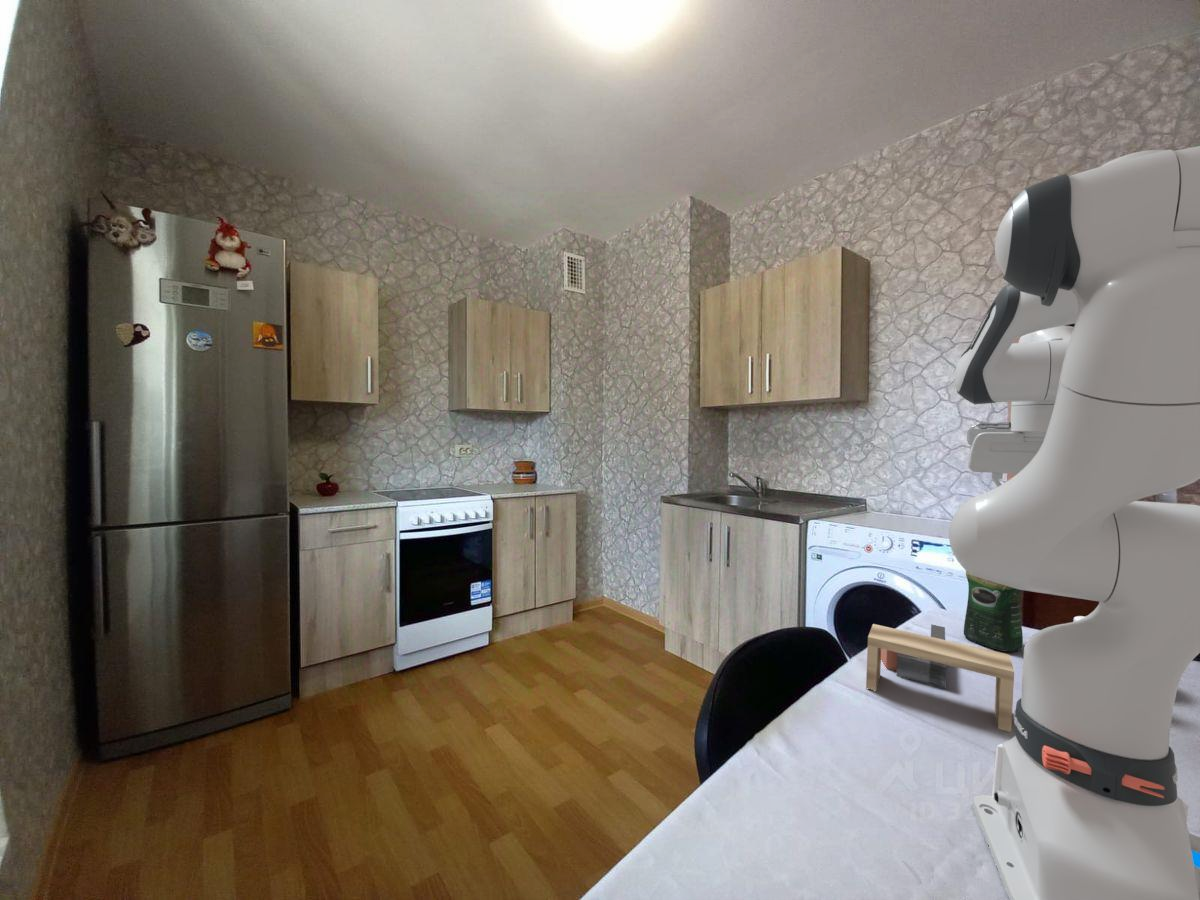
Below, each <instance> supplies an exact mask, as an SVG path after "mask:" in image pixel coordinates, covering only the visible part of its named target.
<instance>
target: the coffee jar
mask: <svg viewBox="0 0 1200 900" xmlns="http://www.w3.org/2000/svg"><path fill="white" fill-rule="evenodd" d="M965 577H966V579H967V582H968V594H967V595H968V597H967V605H966V612H965V618H964V622H963V636H964V637H965V638H966V639H968V640H969V641H972V642H974V643H976V642H977V644H979V645H983V646H984V645H985V647H987V648H991V649H994V650H998V651H999V652H1000V651H1002V652H1013V653H1015V652H1017V651H1019V650H1022V648H1024V645H1023V643H1024V642H1023V640H1024V639H1023V638H1024V637H1023V627H1022V626H1023V625H1022V616H1021V615H1022V613H1021V596H1022V595H1021V594H1022V591H1023V590H1019V589H1016V588H1012V587H1009V586H1005V585H1002V584H998V583H995V582H992V581H989V580H985V579H982V578H979V577H976V576H973V575H971V574H969V573H968V572H967V571H966V570H965Z"/></svg>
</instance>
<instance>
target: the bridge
mask: <svg viewBox="0 0 1200 900" xmlns="http://www.w3.org/2000/svg"><path fill="white" fill-rule="evenodd" d="M881 648H882V649H886V650H890V651H894V652H898V653H902V654H906V655H910V656H914V657H918V658H922V659H926V660H930V661H934V662H937V663H941V664H945V665H946V666H950V667H953V668H954V667H955V668H957V669H962V670H966V671H970V672H974V673H978V674H981V675H986V676H990V677H994V678H995V688H994V689H995V690H994V691H995V692H994V711H995V718H996V722H997V723H996V724H997V728H998V729H999V730H1002V731H1005V732H1008V733H1012V722H1013V704H1014V703H1013V701H1014V684H1015V670H1014V667H1013V662H1012V658H1011V656H1010V654H1008V653H1004V652H1000V651H995V650H991V649H986V648H982V647H978V646H977V647H976V646H972V645H969V644H965V643H960V642H955V641H951V640H947V639H945V640H943V639H938V638H934V637H931V636H928V635H924V634H920V633H915V632H911V631H906V630H903V629H897V628H894V627H889V626H884V625H880V624H876V623H873V624H872V625H871V628H870V630H869V633H868V636H867V650H866V651H867V653H866V654H867V655H866V656H867V657H866V679H865V682H866V683H865V689H866V688H868V689H872V690H875V691H877V689H878V686H879V685H878V684H879V682H878V681H880V678H881V666H882V661H881ZM879 677H880V678H879ZM876 688H877V689H876ZM868 689H867V690H868ZM875 691H874V692H875Z"/></svg>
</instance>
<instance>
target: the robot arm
mask: <svg viewBox="0 0 1200 900" xmlns="http://www.w3.org/2000/svg"><path fill="white" fill-rule="evenodd" d="M994 255H995V260H996V263H997V265H998V267H999V270H1000V271H1001V272H1002V279H1003V280H1004V281H1005V282H1007V284H1005V285H1004V286H1003V287H1002V288H1001V289H1000V291H999V292H998V294H997V295H996V296H995V298H994V300H993V301H992V303H991V305H990V307H989V308H988V310H987V311H986V314H985V316H984V317H983V319H982V321H981V323H980V325H979V327H978V329H977V331H976V333H975V335H974V336H973V338H972V340H971V342H970V344H969V346H968V347H967V348H966V350H965V351H964V352H963V353H962V354H961V356H960V359H959V360H958V362H957V364H956V367H955V370H954V385H955V390H956V393H957V394H958V395H959V396H961V397H962V399H964V400H966V401H968V402H969V403H971V404H973V405H985V404H986V405H987V404H996V403H1010V418H1009V422H1004V421H1003V422H985V421H984V422H983V421H982V422H978V423H977V424H975V425H971V427H969V429H968V430H967V436H966V437H967V439H966V440H967V443H968V444H969V446H970V451H969V456H968V463H967V467H968V469H969V470H971V471H972V472H974V473H989V474H990V473H991V479H992V481H993V482H994V483H995V485H996V487H995V488H993V489H991V490H989V491H985V492H983V493H980V494H978V495H975V496H972V497H970V498H968V500H966V501H965V502H964V503H963V504H961V505H960V507H958V509H957V510H956V511H955V513H954V514H953V516H952V518H951V521H950V524H949V529H948V540H949V544H950V549H951V550H952V553H953V555H954V557H955V559H956V560H957V562H958V563H959V565H960V566H961V567H962V568H963V569H964V570H965V572H966V571H967V572H968V573H969V574H971V575H973V576H976V577H979V578H982V579H985V580H989V581H992V582H995V583H998V584H1002V585H1005V586H1009V587H1012V588H1016V589H1019V590H1022V591H1025V592H1033V593H1041V594H1047V595H1051V596H1052V595H1053V596H1060V597H1061V596H1062V597H1065V598H1066V597H1067V598H1073V599H1079V600H1081V599H1082V600H1086V601H1093V602H1094V601H1095V602H1098V605H1097V606H1096V607H1095V608H1094V610H1093V611H1091V612H1090V613H1089V614H1088V615H1085V617H1084V618H1082V619H1080V620H1078V621H1075V622H1073V621H1071V622H1066V623H1060V624H1055V625H1051V626H1047V627H1045V628H1042V629H1040V630H1039V631H1037V632H1035V633H1034V634H1033V635H1032V636H1030V637H1029V638H1028V640H1027V641H1026V642H1025V645H1024V646H1023V657H1022V658H1023V663H1022V676H1021V677H1022V678H1021V679H1022V680H1021V681H1022V682H1021V697H1020V698H1019V699H1018V700H1017V701H1016V704H1015V705H1016V706H1015V709H1014V712H1013V723H1014V727H1013V728H1014V729H1013V731H1014V736H1013V737H1012V738H1010V739H1009V740H1007V741H1004V742H1001V743H999V744H997V746H996V750H995V762H994V769H993V770H994V771H993V782H992V789H991V790H992V791H991V792H992V793H991V795H986V794H985V795H982V794H980V795H975V796H973V798H972V803H971V807H972V806H973V807H972V810H973V809H974V810H973V813H974V815H975V814H976V815H975V818H976V817H977V818H976V820H977V823H978V822H979V823H978V825H979V824H980V825H979V827H980V826H981V828H982V830H981V832H982V831H983V833H984V835H983V837H984V836H985V838H984V840H985V839H986V840H985V842H986V841H987V843H988V845H989V848H990V850H991V852H992V855H993V857H994V860H995V862H996V865H995V867H996V866H997V868H998V870H999V873H998V875H999V874H1000V875H999V877H1000V876H1001V878H1000V880H1001V879H1002V880H1001V882H1003V883H1002V885H1003V888H1004V889H1005V893H1006V895H1007V897H1009V898H1008V900H1009V899H1010V900H1200V867H1198V866H1197V865H1195V864H1194V859H1193V857H1194V856H1193V853H1192V851H1193V852H1195V853H1197V854H1200V836H1198V835H1195V834H1193V833H1191V832H1189V830H1188V829H1189V828H1188V823H1187V822H1188V821H1187V820H1188V810H1189V805H1188V804H1187V803H1186V802H1184V801H1183V799H1182V798H1180V797H1179V796H1178V786H1177V782H1178V778H1179V777H1178V767H1177V765H1176V760H1175V752H1174V751H1173V749H1172V748H1171V746H1170V736H1171V727H1172V719H1173V712H1174V707H1175V702H1176V697H1177V691H1178V688H1179V685H1180V681H1181V678H1183V675H1184V673H1185V671H1186V670H1187V668H1188V667H1189V665H1190V664H1191V663H1192V662H1193V661H1194V659H1195V658H1196V657H1197V656H1199V654H1200V505H1198V504H1191V503H1189V504H1188V503H1173V502H1158V501H1142V500H1143V499H1145V498H1148V497H1152V496H1155V495H1159V494H1160V495H1161V494H1164V493H1167V492H1171V491H1175V490H1177V489H1180V488H1183V487H1186V486H1188V485H1191V484H1193V483H1195V482H1197V481H1199V480H1200V145H1197V146H1193V147H1187V148H1182V149H1177V150H1173V149H1149V150H1142V151H1137V152H1131V153H1128V154H1125V155H1122V156H1119V157H1117V158H1114V159H1111V160H1109V161H1108V162H1106V163H1104V164H1102V165H1101V166H1098V167H1093V168H1092V169H1091V168H1090V169H1088V170H1084V171H1082V172H1078V173H1076V174H1072V175H1069V174H1067V173H1062V174H1059V175H1056V176H1053V177H1050V178H1047V179H1045V180H1042V181H1040V182H1038V183H1035V184H1033V185H1030V186H1028V187H1026V188H1024V189H1022V190H1021V191H1020V192H1019V194H1017V195H1016V196H1015V198H1014V199H1013V200H1012V201H1011V202H1010V206H1009V209H1008V211H1006V213H1005V215H1004V216H1003V218H1002V220H1001V222H1000V224H999V226H998V229H997V232H996V237H995V240H994ZM1070 325H1074V326H1070ZM1017 340H1018V342H1016V343H1014V342H1015V341H1017ZM1004 474H1008V475H1009V474H1013V475H1014V476H1013V477H1011V478H1010V479H1009V480H1007V481H1005V482H1003V483H1001V482H1000V480H1003V475H1004ZM1140 500H1141V501H1140ZM981 828H980V829H981ZM983 833H982V834H983ZM987 843H986V844H987ZM988 845H987V846H988ZM989 848H988V849H989ZM990 850H989V851H990ZM992 855H991V856H992ZM994 860H993V861H994ZM997 868H996V869H997ZM998 870H997V871H998Z"/></svg>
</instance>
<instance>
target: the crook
mask: <svg viewBox="0 0 1200 900" xmlns="http://www.w3.org/2000/svg"><path fill="white" fill-rule="evenodd" d="M930 637H934V638H938V639H943V640H946V627H945V626H940V625H937V624H931V625H930ZM899 676H901V677H900V678H903V677H905V678H904V679H907V678H908V679H907V680H911V681H913V682H919V683H922V684H925V685H929V686H931V687H932V686H933V687H937V688H941V689H944V690H946V684H947V683H946V682H947V681H946V680H947V665H945V664H941V663H937V662H934V661H930V660H926V659H922V658H918V657H914V656H910V655H906V654H902V653H898V655H897V670H896V677H899Z"/></svg>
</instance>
